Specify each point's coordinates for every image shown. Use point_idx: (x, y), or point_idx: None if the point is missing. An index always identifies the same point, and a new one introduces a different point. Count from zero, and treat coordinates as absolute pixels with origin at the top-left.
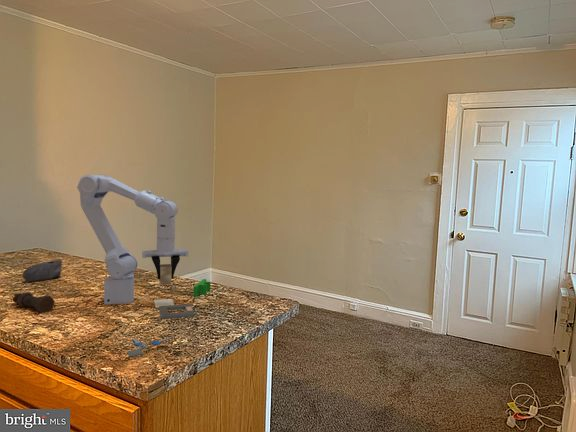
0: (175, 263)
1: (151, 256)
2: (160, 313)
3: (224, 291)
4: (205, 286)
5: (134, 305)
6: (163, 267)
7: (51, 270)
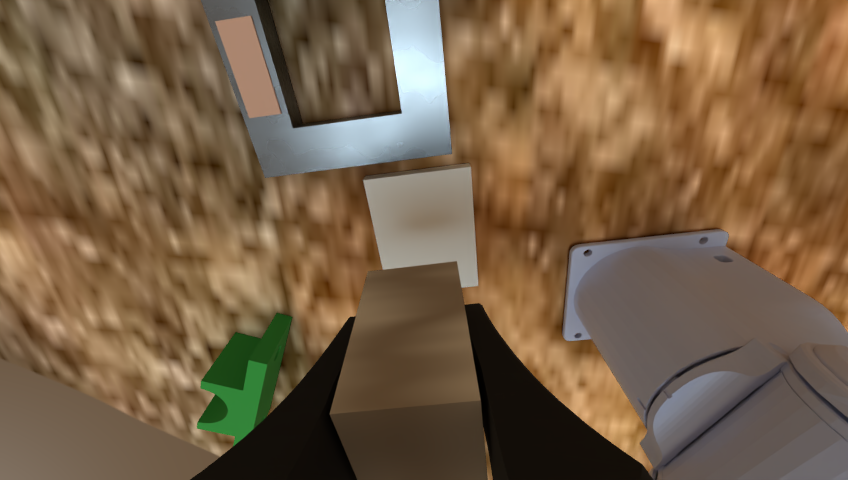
0: (254, 453)
1: None
2: (439, 14)
3: (169, 388)
4: (209, 375)
5: (572, 245)
6: (438, 394)
7: None
